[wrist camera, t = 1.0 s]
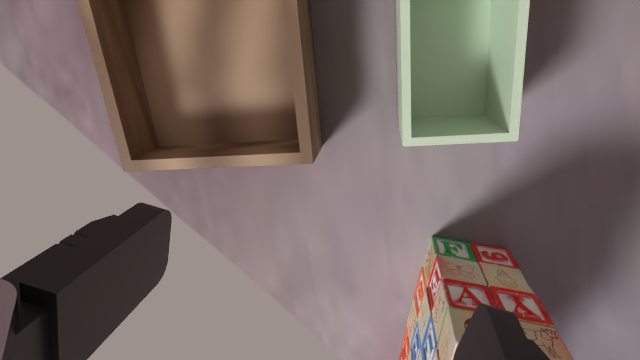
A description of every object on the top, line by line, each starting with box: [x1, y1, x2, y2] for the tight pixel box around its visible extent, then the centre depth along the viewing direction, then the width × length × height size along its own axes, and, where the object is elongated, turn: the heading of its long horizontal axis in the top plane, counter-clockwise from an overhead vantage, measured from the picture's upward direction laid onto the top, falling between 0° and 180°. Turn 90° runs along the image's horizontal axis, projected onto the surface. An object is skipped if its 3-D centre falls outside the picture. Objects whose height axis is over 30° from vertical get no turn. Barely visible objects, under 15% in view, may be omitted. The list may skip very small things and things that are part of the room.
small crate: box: [396, 0, 530, 146], centre depth 24 cm, size 6×10×6 cm, turn 5°
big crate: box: [77, 0, 323, 171], centre depth 27 cm, size 14×15×4 cm
